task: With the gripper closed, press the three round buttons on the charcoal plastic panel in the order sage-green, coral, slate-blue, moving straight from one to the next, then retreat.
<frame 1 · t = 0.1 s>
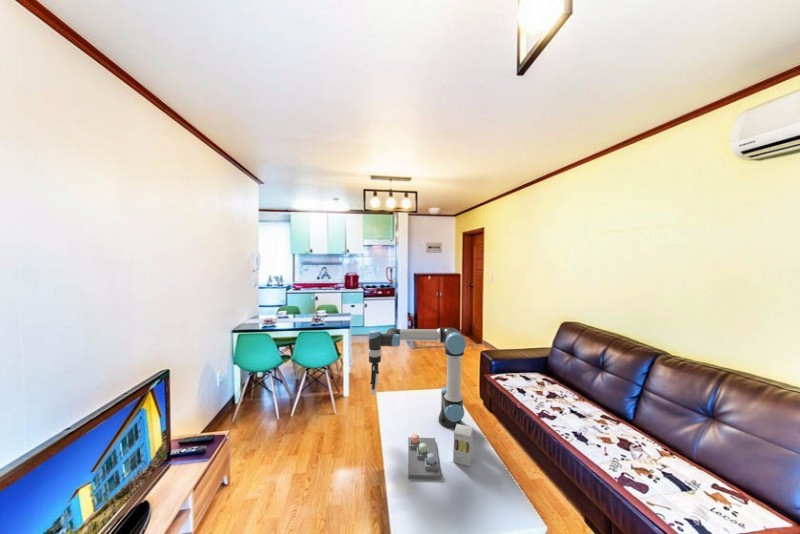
hand: (374, 388, 185), 28 cm above the table, fingers open, 13 cm apart
panel: (422, 458, 163), on the table
supplement box: (462, 459, 162), on the table
coral button: (415, 439, 171), point 5 cm above the table, slide at 0.0 cm
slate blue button: (431, 458, 154), point 5 cm above the table, slide at 0.0 cm
sage button: (422, 448, 162), point 5 cm above the table, slide at 0.0 cm
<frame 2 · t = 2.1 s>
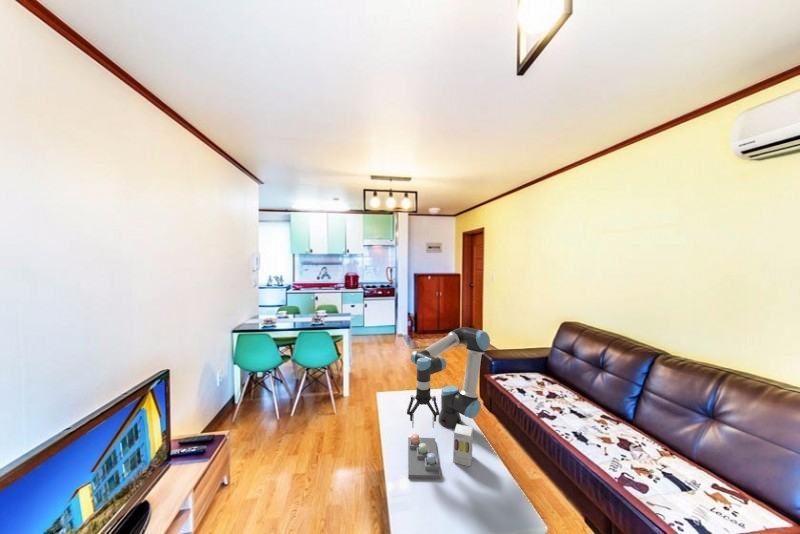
hand: (422, 426, 162), 18 cm above the table, fingers open, 10 cm apart
nothing on the table moved.
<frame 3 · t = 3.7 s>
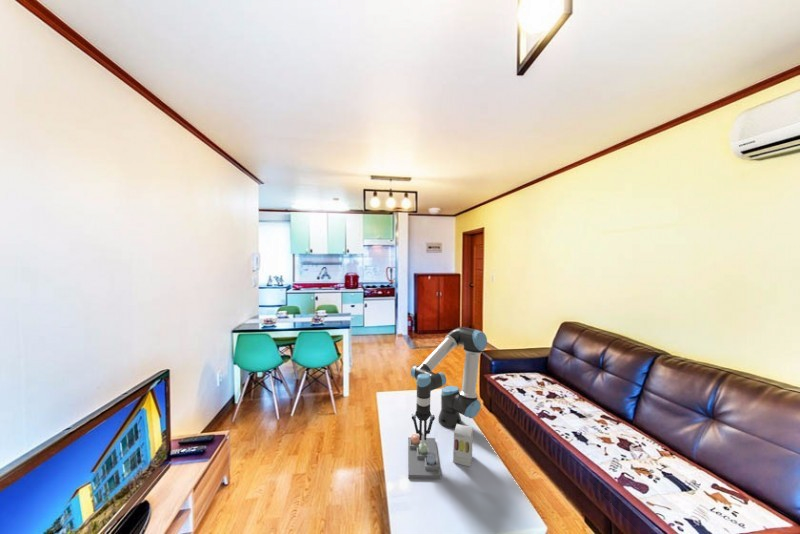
hand: (422, 445, 162), 7 cm above the table, fingers closed
sage button: (422, 448, 162), point 5 cm above the table, slide at 0.1 cm, touching gripper
everything else where it was.
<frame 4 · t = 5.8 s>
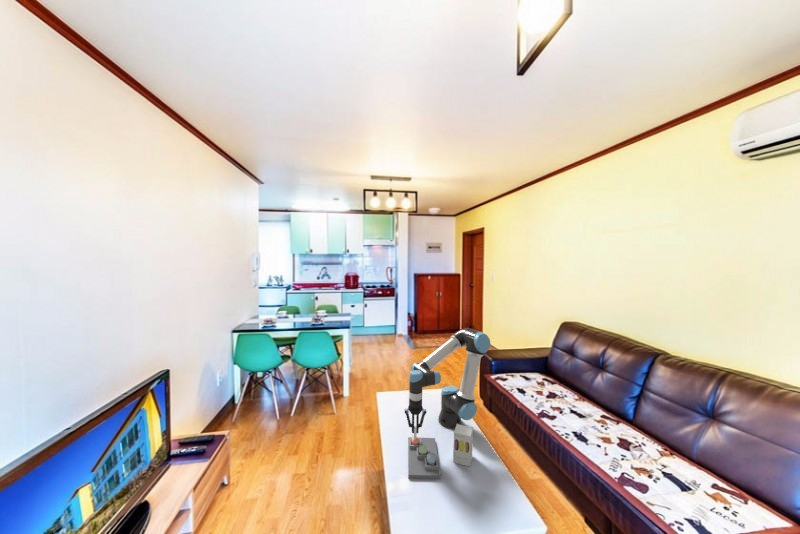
hand: (415, 438, 170), 6 cm above the table, fingers closed
coral button: (415, 441, 171), point 4 cm above the table, slide at 1.3 cm, touching gripper
sage button: (422, 450, 163), point 4 cm above the table, slide at 1.3 cm
everything else where it was.
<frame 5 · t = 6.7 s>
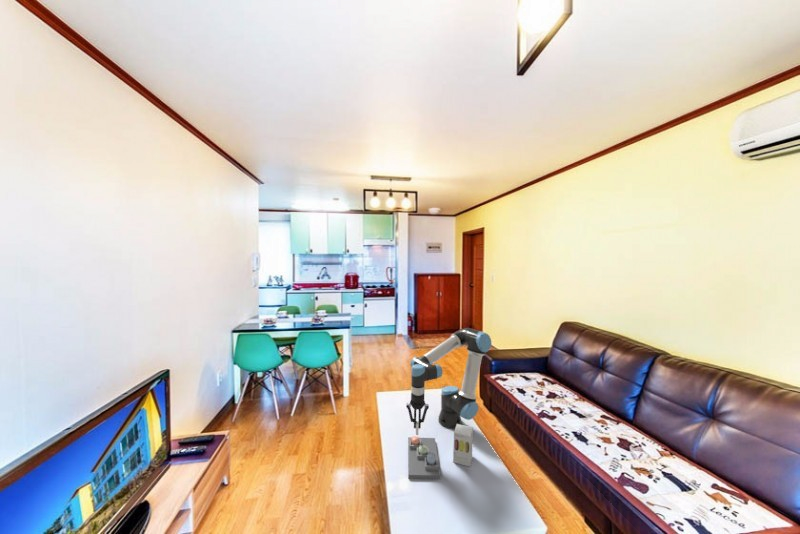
hand: (417, 433, 168), 11 cm above the table, fingers closed
coral button: (415, 441, 171), point 4 cm above the table, slide at 1.4 cm
everything else where it was.
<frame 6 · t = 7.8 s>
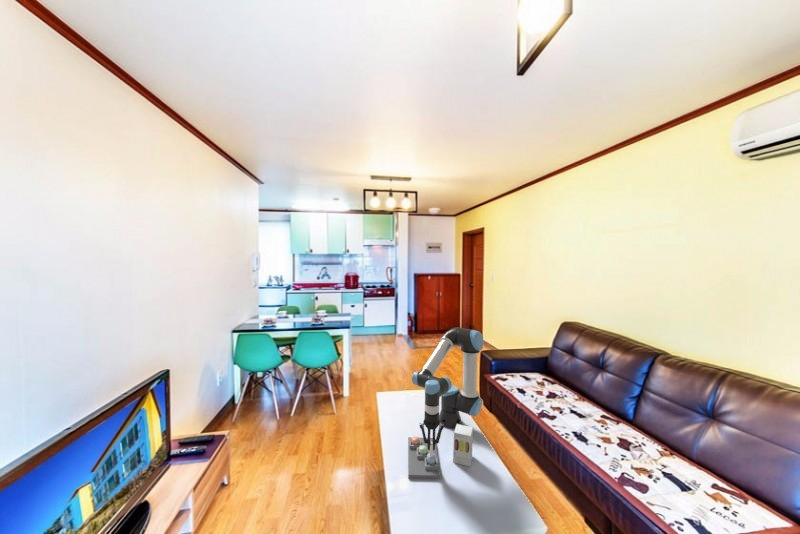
hand: (431, 455, 154), 7 cm above the table, fingers closed
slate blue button: (431, 458, 154), point 5 cm above the table, slide at 0.0 cm, touching gripper
everything else where it was.
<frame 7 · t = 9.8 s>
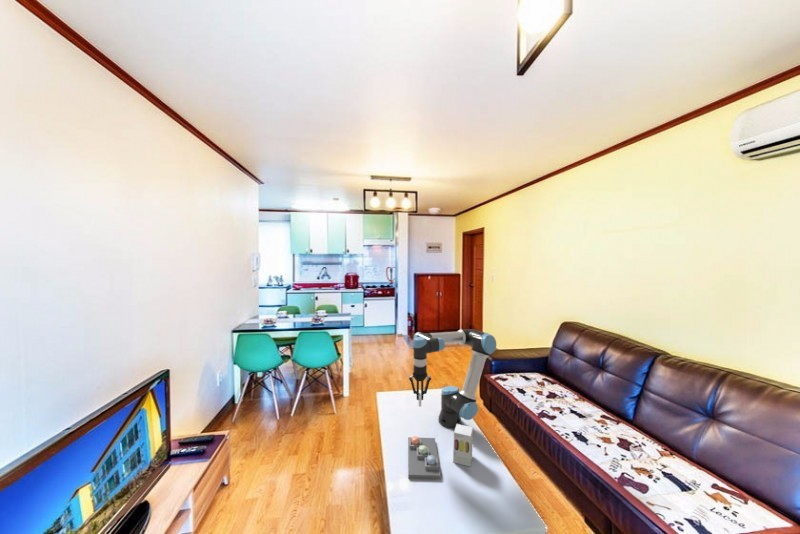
hand: (419, 405, 169), 26 cm above the table, fingers closed
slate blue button: (431, 461, 154), point 4 cm above the table, slide at 1.3 cm
everything else where it was.
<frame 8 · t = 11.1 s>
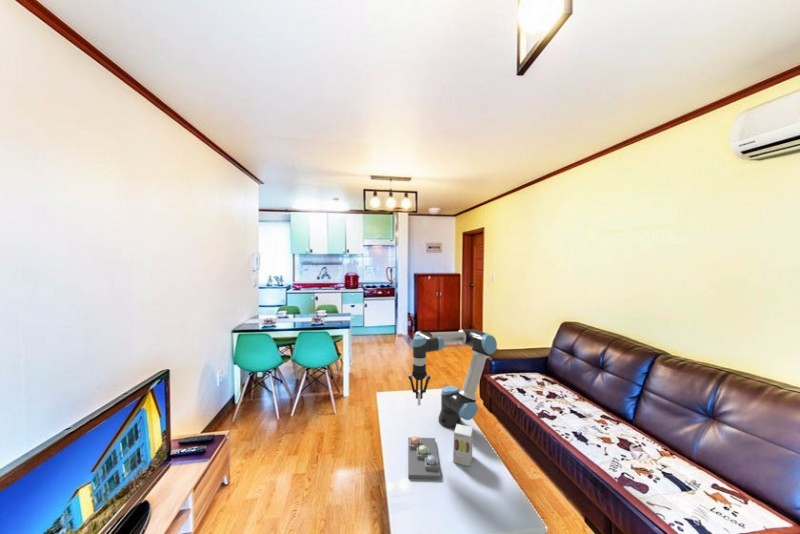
hand: (419, 403, 170), 26 cm above the table, fingers closed
nothing on the table moved.
at the end: sage button slide at 1.3 cm; coral button slide at 1.4 cm; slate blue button slide at 1.3 cm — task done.
